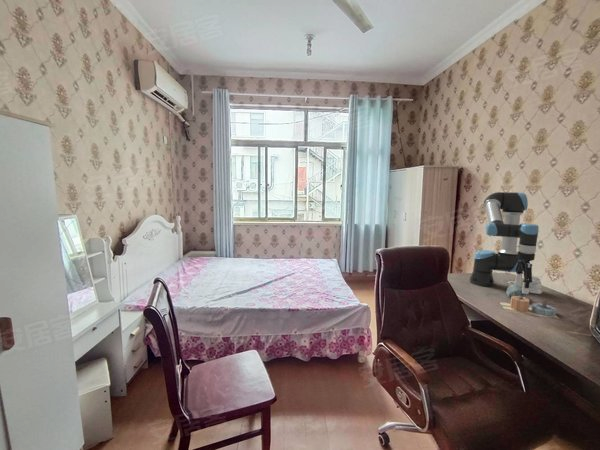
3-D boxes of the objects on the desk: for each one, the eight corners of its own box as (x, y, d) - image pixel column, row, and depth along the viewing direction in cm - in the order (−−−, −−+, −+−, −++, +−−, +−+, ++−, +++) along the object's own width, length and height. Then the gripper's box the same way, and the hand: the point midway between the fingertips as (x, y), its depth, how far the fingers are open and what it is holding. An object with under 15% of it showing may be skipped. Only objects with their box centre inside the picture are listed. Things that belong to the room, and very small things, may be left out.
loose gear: (508, 304, 171) (509, 294, 170) (525, 307, 168) (526, 297, 167) (512, 310, 164) (513, 300, 163) (530, 312, 161) (531, 302, 160)
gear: (528, 306, 168) (529, 301, 168) (551, 310, 165) (552, 305, 164) (534, 314, 159) (535, 309, 159) (559, 317, 155) (559, 312, 155)
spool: (529, 299, 172) (521, 283, 176) (510, 303, 177) (503, 287, 180) (528, 298, 183) (520, 282, 187) (510, 302, 188) (503, 286, 191)
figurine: (521, 287, 203) (523, 272, 202) (538, 289, 200) (540, 274, 198) (527, 293, 192) (529, 277, 191) (544, 295, 189) (546, 279, 187)
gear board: (499, 303, 175) (500, 290, 174) (549, 310, 166) (551, 297, 165) (505, 312, 163) (506, 299, 162) (559, 320, 154) (561, 306, 152)
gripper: (512, 246, 174) (507, 280, 177) (525, 257, 151) (519, 296, 155) (527, 247, 171) (522, 282, 175) (543, 258, 148) (537, 298, 152)
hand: (521, 289), depth 165 cm, fingers open, 13 cm apart
